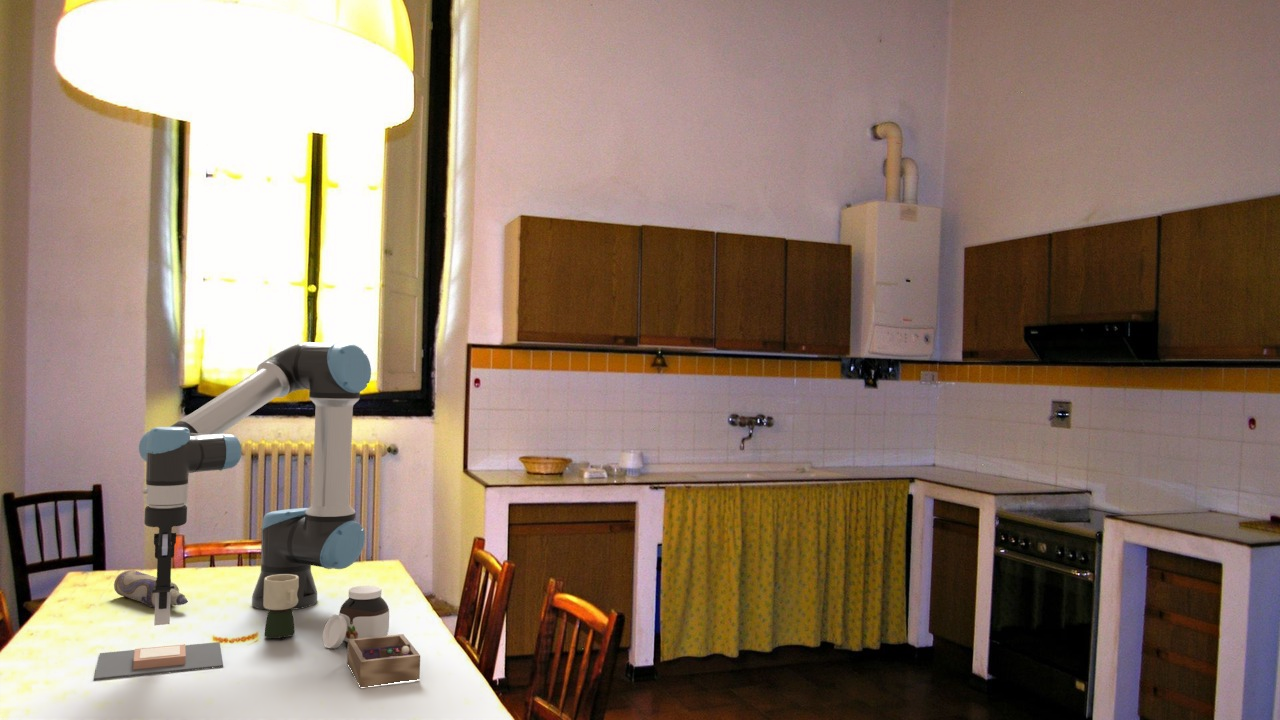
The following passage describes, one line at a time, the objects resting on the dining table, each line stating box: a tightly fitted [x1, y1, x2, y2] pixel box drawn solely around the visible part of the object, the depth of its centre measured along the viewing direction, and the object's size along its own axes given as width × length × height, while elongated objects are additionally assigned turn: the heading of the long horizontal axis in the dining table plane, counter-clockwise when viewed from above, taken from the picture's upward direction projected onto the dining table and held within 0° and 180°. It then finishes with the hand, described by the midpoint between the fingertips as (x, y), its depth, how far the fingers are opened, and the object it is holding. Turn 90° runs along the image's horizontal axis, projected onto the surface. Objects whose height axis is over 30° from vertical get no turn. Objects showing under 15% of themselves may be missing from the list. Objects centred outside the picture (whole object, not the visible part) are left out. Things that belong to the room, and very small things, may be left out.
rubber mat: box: [93, 641, 224, 681], centre depth 187 cm, size 22×16×1 cm
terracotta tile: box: [133, 644, 186, 669], centre depth 186 cm, size 9×2×8 cm
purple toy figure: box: [362, 644, 411, 660], centre depth 181 cm, size 7×5×9 cm
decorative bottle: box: [113, 569, 188, 609], centre depth 227 cm, size 26×8×7 cm, turn 55°
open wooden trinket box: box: [346, 633, 421, 688], centre depth 184 cm, size 11×15×5 cm
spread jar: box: [322, 585, 390, 650], centre depth 201 cm, size 12×11×12 cm
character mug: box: [263, 574, 299, 639], centre depth 205 cm, size 11×7×13 cm, turn 49°
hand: (162, 623), depth 187 cm, fingers closed
